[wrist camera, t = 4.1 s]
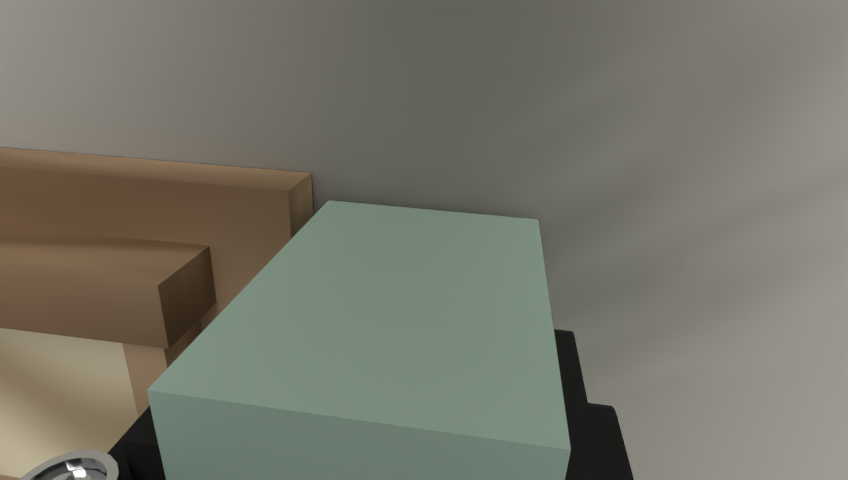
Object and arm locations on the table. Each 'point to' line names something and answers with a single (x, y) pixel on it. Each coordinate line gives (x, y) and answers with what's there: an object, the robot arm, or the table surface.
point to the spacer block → (376, 358)
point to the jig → (118, 283)
